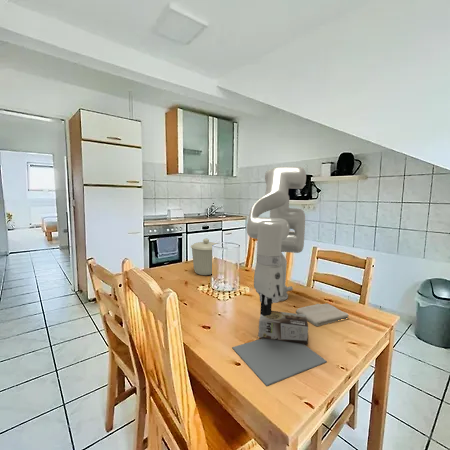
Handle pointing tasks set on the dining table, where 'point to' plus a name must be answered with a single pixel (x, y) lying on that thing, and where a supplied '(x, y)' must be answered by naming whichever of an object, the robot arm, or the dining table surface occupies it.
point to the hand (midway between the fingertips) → (265, 314)
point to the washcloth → (322, 314)
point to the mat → (277, 358)
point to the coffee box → (284, 327)
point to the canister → (202, 257)
